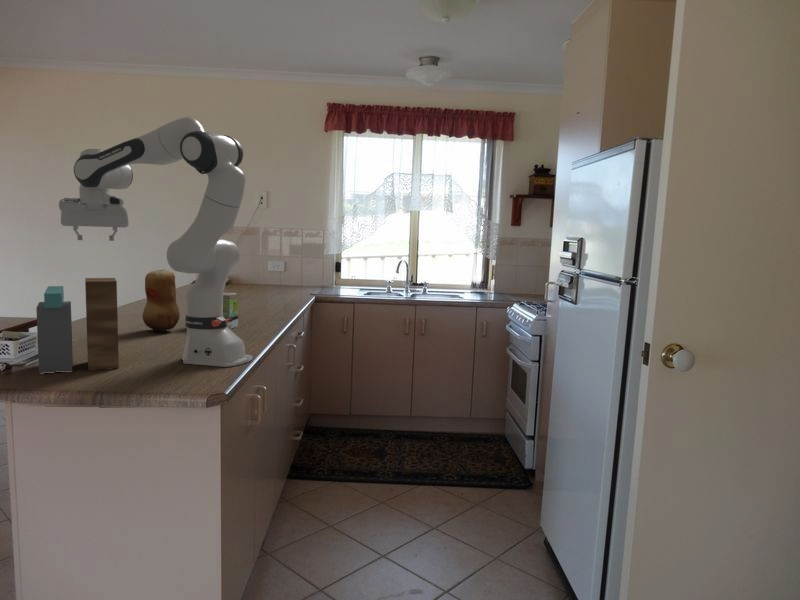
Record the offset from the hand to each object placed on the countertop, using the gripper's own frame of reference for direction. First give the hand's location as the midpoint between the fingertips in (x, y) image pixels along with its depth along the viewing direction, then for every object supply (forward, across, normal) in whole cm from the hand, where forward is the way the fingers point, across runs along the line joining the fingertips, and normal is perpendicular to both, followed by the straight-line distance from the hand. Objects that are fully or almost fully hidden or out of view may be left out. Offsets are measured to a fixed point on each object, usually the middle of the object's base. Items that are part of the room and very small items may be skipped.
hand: (96, 240), depth 191 cm
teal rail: (+18, -12, -26) cm, 34 cm away
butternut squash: (+37, +23, +25) cm, 50 cm away
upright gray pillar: (+37, -12, -28) cm, 48 cm away
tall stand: (+37, 0, -28) cm, 47 cm away
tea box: (+37, +45, +28) cm, 64 cm away
